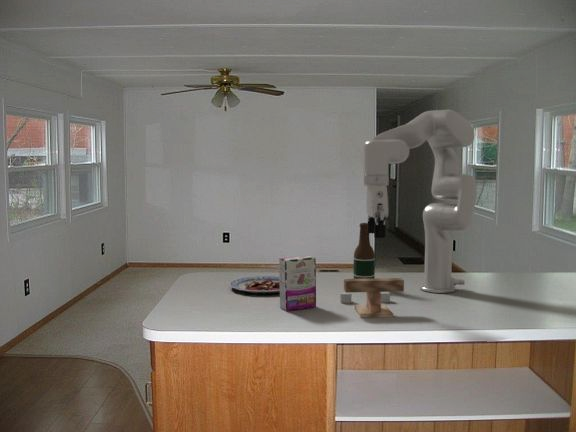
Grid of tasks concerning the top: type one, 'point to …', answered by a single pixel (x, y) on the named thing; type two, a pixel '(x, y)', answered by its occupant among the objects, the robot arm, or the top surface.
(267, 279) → the ceramic plate
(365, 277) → the beer bottle
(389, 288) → the walnut bar
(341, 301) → the grey cubes
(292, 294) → the candy bar box
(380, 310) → the fulcrum
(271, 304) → the top surface
